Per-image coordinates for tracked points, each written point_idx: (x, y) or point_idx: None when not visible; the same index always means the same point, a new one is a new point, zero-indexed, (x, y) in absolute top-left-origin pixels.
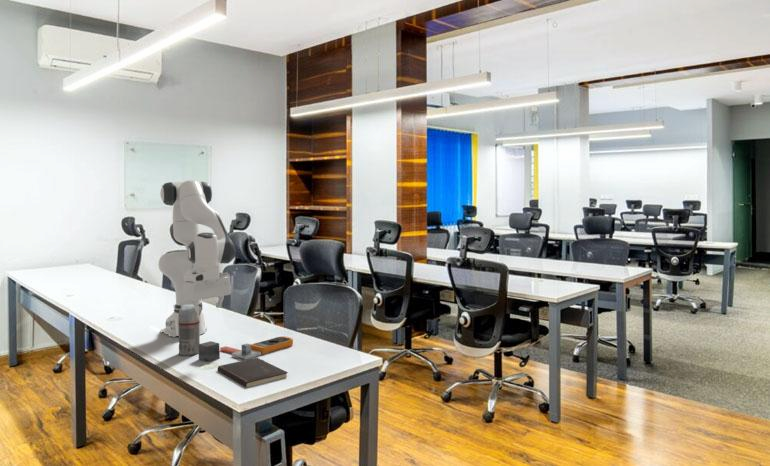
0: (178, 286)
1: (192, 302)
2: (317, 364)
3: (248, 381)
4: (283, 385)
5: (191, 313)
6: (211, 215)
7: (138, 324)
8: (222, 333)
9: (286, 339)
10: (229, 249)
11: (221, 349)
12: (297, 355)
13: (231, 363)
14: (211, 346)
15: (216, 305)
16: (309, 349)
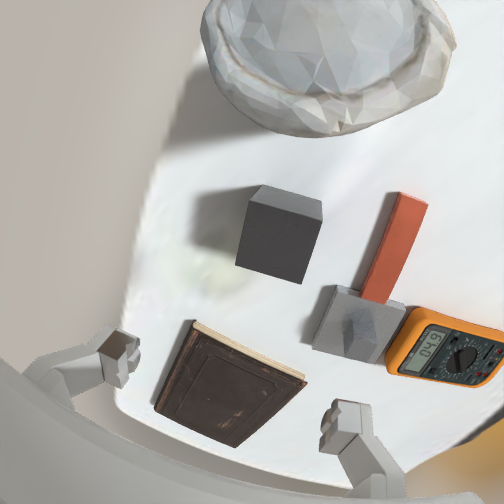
0: None
1: (36, 364)
2: (326, 457)
3: (158, 412)
4: (198, 440)
5: (255, 121)
6: None
7: None
8: None
9: (480, 376)
10: None
11: (398, 201)
12: (385, 419)
13: (227, 350)
14: (259, 269)
15: (337, 413)
16: (436, 416)
